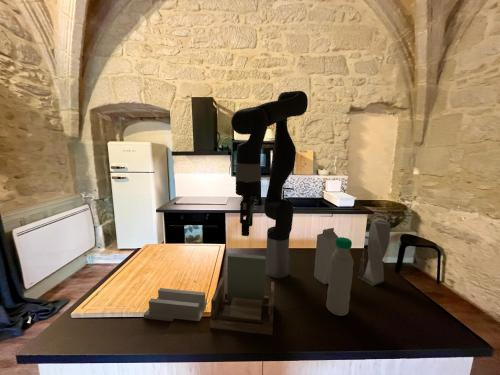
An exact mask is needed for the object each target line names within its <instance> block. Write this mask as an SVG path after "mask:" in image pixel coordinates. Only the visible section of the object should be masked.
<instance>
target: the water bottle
mask: <svg viewBox="0 0 500 375" xmlns="http://www.w3.org/2000/svg"><path fill="white" fill-rule="evenodd" d="M338 237H339V236H338ZM352 243H353V242H352V240H351V239H350V238H348V237H342V236H340V237H339V238H337V239H336V247H337V249H336V250H335V251H334V253H333V254H332V256H331V258H330V262H331V264H330V270H329V283H328V287H327V292H326V293H327V297H326V298H327V299H326V308H327V310H328V311H329V312H330V313H331V314H333V315H335V316H340V317H344V316H346V315H348V314H349V312H350V311H349V310H350V301H351V289H352V284H353V283H352V282H353V274H354V273H353V272H354V271H353V270H354V269H353V267H354V265H355V262H354V258H353V257H352V253H351V251H350V250H351V249H352V246H353V244H352Z"/></svg>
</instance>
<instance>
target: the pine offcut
mask: <svg viewBox="0 0 500 375" xmlns="http://www.w3.org/2000/svg"><path fill="white" fill-rule="evenodd" d="M261 312H262V300H254V299H244V298H234V297H233V300H232V303H231V306H230V317H239V318H248V319H257V320H261Z"/></svg>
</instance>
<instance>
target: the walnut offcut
mask: <svg viewBox="0 0 500 375" xmlns="http://www.w3.org/2000/svg"><path fill="white" fill-rule="evenodd" d="M222 320H225V321H234V322H242V323H251V324H260V325H263V309H262V312H261V320H257V319H248V318H239V317H230V306H227V305H225V307H224V310H223V313H222Z"/></svg>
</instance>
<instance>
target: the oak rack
mask: <svg viewBox="0 0 500 375" xmlns="http://www.w3.org/2000/svg"><path fill="white" fill-rule="evenodd" d="M274 299H275V281H271V282H270V296H269V295H264V304H262V309H263V325H260V324H251V323H242V322H234V321H225V320H222V313H223V310H224V307H225V305H227V306H231V303H232V300H227V291H225V277H220V279H219V282H218V284H217V286H216V288H215V290H214V293H213V296H212V298H211V300H210V307H211V308H210V311H211V312H210V315H211V316H210V317H211V318H210V321H209V322H210V323H209V324H210V325H209V326H210V329H218V330H226V331H235V332H243V333H251V334H252V333H253V334H258V335H259V334H260V335H268V336H269V335H270V336H273V334H274V333H273V328H274V326H273V325H274V307H275V306H274V303H275V300H274Z"/></svg>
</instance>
